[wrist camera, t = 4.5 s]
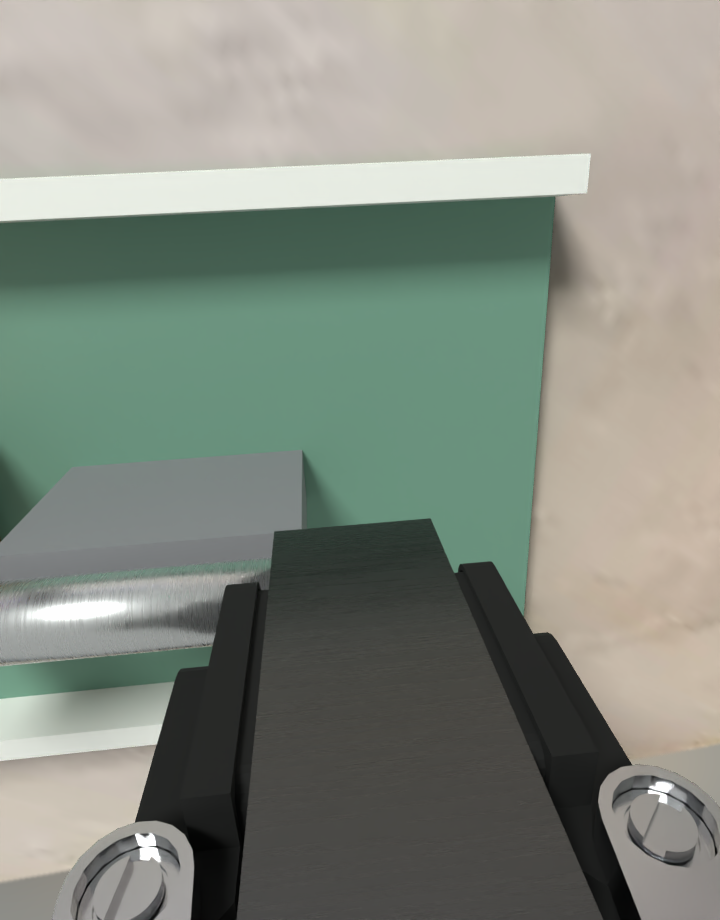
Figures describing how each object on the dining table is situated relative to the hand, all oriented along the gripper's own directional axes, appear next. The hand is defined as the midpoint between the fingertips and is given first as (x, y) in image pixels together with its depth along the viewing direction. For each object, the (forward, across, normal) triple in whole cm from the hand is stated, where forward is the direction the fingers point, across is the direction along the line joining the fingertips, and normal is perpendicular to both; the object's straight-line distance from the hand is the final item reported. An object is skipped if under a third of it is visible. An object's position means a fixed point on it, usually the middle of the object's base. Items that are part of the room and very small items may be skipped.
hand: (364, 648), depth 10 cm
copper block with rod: (+7, +5, 0) cm, 9 cm away
